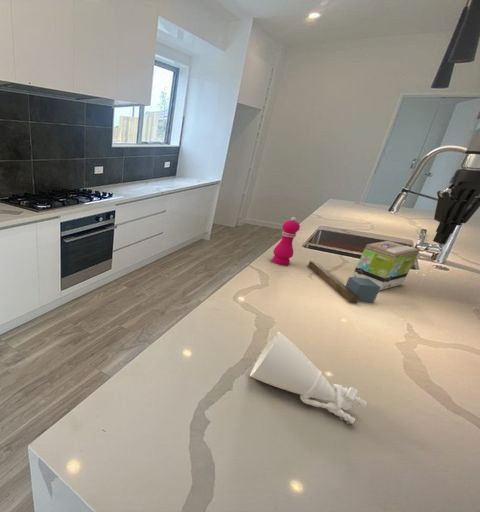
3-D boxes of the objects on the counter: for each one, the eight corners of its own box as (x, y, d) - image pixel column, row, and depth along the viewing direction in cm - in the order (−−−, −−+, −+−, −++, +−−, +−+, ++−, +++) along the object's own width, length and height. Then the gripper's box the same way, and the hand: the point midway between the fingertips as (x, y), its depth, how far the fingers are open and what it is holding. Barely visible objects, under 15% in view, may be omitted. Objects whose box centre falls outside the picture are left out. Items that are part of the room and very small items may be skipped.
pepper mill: (271, 257, 132) (284, 213, 125) (290, 261, 129) (305, 216, 121) (269, 262, 127) (282, 217, 119) (289, 267, 123) (304, 220, 115)
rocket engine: (390, 385, 53) (284, 325, 61) (362, 443, 50) (255, 372, 59) (358, 389, 62) (271, 338, 71) (333, 438, 60) (246, 378, 69)
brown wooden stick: (356, 303, 98) (359, 297, 97) (350, 302, 98) (353, 296, 97) (313, 266, 125) (315, 260, 124) (308, 265, 125) (309, 260, 124)
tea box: (381, 291, 106) (399, 253, 100) (349, 279, 115) (364, 243, 109) (403, 285, 112) (421, 248, 106) (371, 273, 120) (387, 239, 114)
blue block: (373, 302, 99) (380, 287, 96) (353, 300, 100) (360, 284, 97) (362, 293, 104) (368, 278, 102) (343, 291, 105) (349, 276, 103)
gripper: (487, 169, 93) (450, 240, 102) (440, 167, 94) (407, 237, 103) (515, 172, 86) (472, 248, 95) (463, 169, 87) (426, 244, 97)
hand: (438, 242), depth 99 cm, fingers closed
